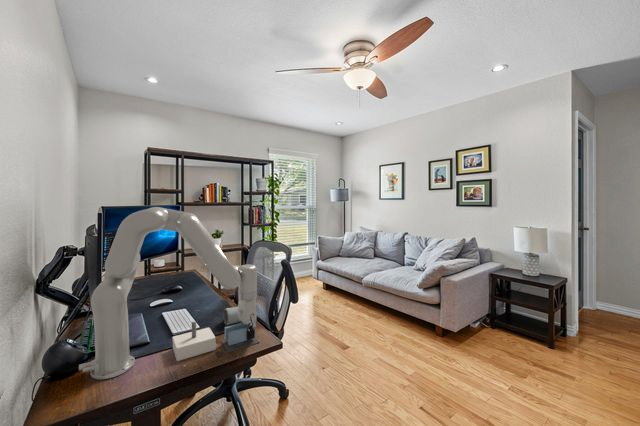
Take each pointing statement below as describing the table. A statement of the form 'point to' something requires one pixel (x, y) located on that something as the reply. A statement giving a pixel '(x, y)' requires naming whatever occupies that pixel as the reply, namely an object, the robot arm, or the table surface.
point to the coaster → (239, 344)
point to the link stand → (193, 343)
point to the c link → (236, 333)
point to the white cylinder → (231, 316)
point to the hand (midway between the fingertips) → (247, 334)
